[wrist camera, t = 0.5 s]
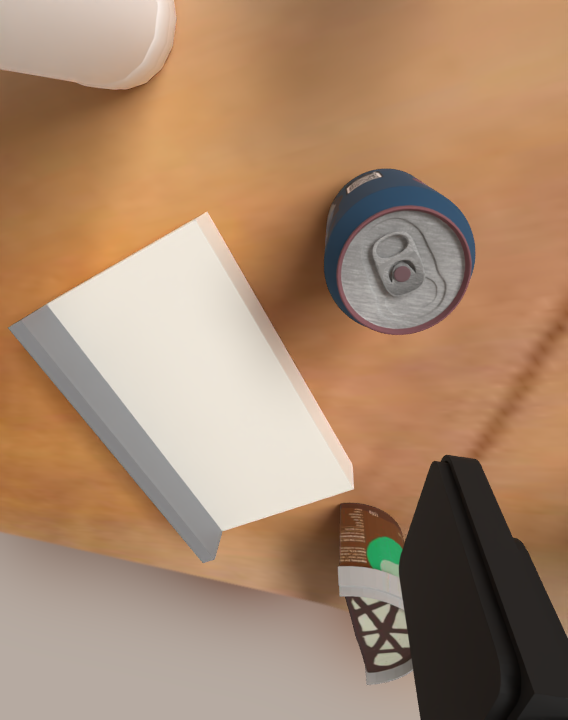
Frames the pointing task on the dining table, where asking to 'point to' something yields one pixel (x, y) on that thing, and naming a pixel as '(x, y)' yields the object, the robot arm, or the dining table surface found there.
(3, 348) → the dining table surface
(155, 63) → the bottle
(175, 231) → the display shelf
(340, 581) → the food container
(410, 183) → the soda can
